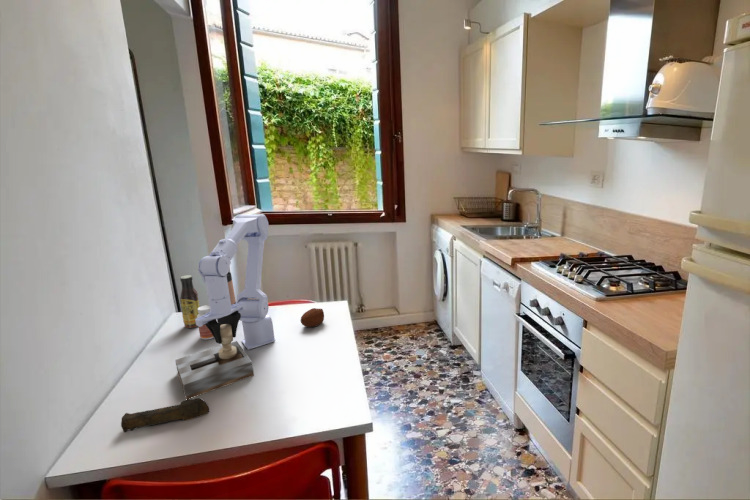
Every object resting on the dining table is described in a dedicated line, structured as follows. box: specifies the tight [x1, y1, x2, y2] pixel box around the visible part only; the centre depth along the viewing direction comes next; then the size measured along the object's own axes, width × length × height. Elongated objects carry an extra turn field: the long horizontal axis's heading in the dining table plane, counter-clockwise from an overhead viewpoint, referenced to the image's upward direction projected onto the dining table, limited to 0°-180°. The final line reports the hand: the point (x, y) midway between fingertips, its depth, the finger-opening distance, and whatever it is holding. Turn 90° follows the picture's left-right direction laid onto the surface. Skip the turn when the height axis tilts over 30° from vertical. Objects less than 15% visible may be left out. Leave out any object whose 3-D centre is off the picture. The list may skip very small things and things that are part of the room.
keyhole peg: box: [219, 324, 237, 359], centre depth 112 cm, size 5×5×9 cm
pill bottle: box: [197, 304, 218, 341], centre depth 135 cm, size 6×6×11 cm
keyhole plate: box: [175, 340, 255, 400], centre depth 111 cm, size 18×16×4 cm
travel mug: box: [216, 271, 237, 325], centre depth 143 cm, size 8×8×20 cm
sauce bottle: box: [179, 274, 201, 329], centre depth 144 cm, size 6×6×20 cm
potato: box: [300, 307, 325, 328], centre depth 140 cm, size 7×9×6 cm
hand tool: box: [120, 397, 210, 433], centre depth 92 cm, size 19×4×5 cm, turn 102°
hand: (226, 339), depth 112 cm, fingers closed on keyhole peg, 4 cm apart
